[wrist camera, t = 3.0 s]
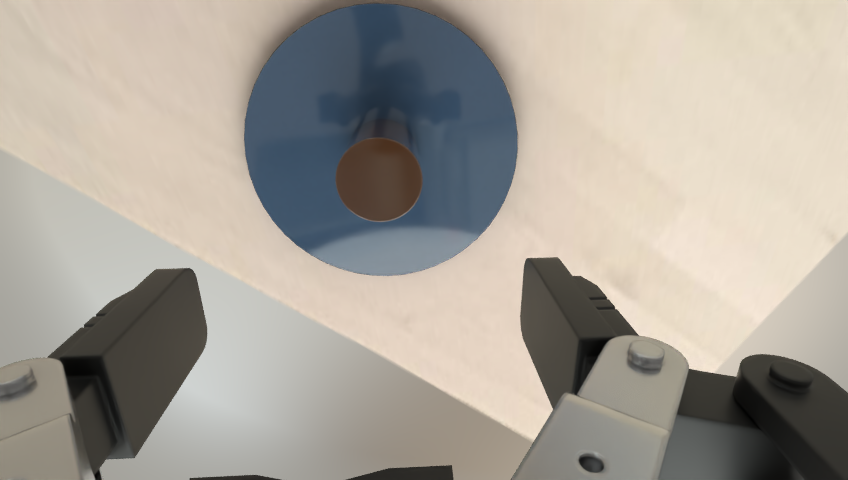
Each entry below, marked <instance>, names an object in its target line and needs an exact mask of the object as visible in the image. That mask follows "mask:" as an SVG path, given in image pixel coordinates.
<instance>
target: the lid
mask: <svg viewBox="0 0 848 480" xmlns="http://www.w3.org/2000/svg"><path fill="white" fill-rule="evenodd" d="M244 143H245V154H246V160H247V165H248V170H249V174H250V177H251V180H252V183H253V185H254V188H255V191H256V193H257V195H258V197H259V199H260V201H261V203H262V205H263V207H264V208H265V210H266V211H267V213H268V214H269V215H270V217H271V218H272V220H273V221H274V222H275V224H276V225H277V226H278V227H279V228H280V229H281V230H282V232H283V233H284V234H285V235H286V236H287V237H288V238H290V239H291V240H292V241H293V242H294V243H295V244H296V245H297V246H299V247H300V248H302V249H303V250H305V251H306V252H307V253H309V254H310V255H312V256H314V257H316V258H317V259H319V260H321V261H323V262H325V263H327V264H330V265H332V266H335V267H337V268H340V269H343V270H347V271H351V272H354V273H360V274H366V275H377V276H392V275H403V274H408V273H413V272H418V271H422V270H425V269H428V268H430V267H433V266H436V265H438V264H440V263H442V262H444V261H446V260H449V259H450V258H452V257H454V256H455V255H457V254H458V253H460V252H461V251H463V250H464V249H465V248H467V247H468V246H469V245H470V244H471V243H473V242H474V241H475V240H476V239H477V238H478V237H479V236H480V235H481V234H482V233H483V232H484V231H485V230H486V229H487V227H488V226H489V225H490V223H491V222H492V221H493V219H494V218H495V216H496V215H497V213H498V212H499V210H500V208H501V206H502V204H503V203H504V201H505V198H506V196H507V194H508V191H509V189H510V186H511V183H512V179H513V175H514V171H515V167H516V159H517V151H518V149H517V126H516V119H515V113H514V110H513V106H512V102H511V99H510V96H509V94H508V91H507V89H506V87H505V84H504V82H503V80H502V78H501V76H500V75H499V73H498V71H497V70H496V68H495V66H494V65H493V63H492V62H491V61H490V59H489V58H488V57H487V56H486V54H485V53H484V52H483V51H482V49H481V48H480V47H479V46H478V45H477V44H475V43H474V42H473V41H472V40H471V39H470V38H469V37H468V36H467V35H466V34H464V33H463V32H462V31H460V30H459V29H457V28H456V27H455V26H453V25H452V24H450V23H448V22H446V21H444V20H443V19H441V18H439V17H437V16H435V15H433V14H430V13H427V12H424V11H422V10H419V9H416V8H412V7H407V6H402V5H397V4H384V3H371V4H358V5H353V6H349V7H344V8H340V9H336V10H334V11H331V12H329V13H326V14H324V15H321V16H319V17H317V18H315V19H314V20H312V21H310V22H308V23H307V24H305V25H303V26H302V27H300V28H299V29H298V30H297V31H295V32H294V33H293V34H292V35H290V36H289V37H288V38H287V39H286V40H285V41H284V42H283V43H282V44H281V45H280V46H279V47H278V48H277V49H276V50H275V51H274V53H273V54H272V55H271V57H270V58H269V60H268V61H267V63H266V64H265V65H264V67H263V69H262V71H261V73H260V75H259V77H258V78H257V80H256V82H255V84H254V87H253V90H252V93H251V96H250V99H249V102H248V107H247V113H246V118H245V132H244Z"/></svg>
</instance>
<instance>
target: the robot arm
mask: <svg viewBox="0 0 848 480" xmlns="http://www.w3.org/2000/svg"><path fill="white" fill-rule="evenodd" d="M520 320H521V331H522V336H523V339H524V342H525V344H526V347H527V349H528V351H529V354H530V356H531V358H532V361H533V363H534V365H535V368H536V370H537V372H538V375H539V377H540V379H541V382H542V384H543V387H544V389H545V391H546V394H547V396H548V398H549V401H550V403H551V405H552V408H553V411H552V413H551V415H550V416H549V418H548V419H547V421H546V423H545V424H544V426H543V428H542V429H541V431H540V433H539V434H538V436H537V437H536V439H535V441H534V442H533V444H532V446H531V447H530V449H529V451H528V452H527V454H526V456H525V457H524V459H523V461H522V462H521V464H520V465H519V467H518V469H517V470H516V472H515V473H514V475H513V477H512V478H511V480H848V393H847V392H846V391H845V390H844V389H842V388H841V387H840V386H839V385H838V384H836V383H835V382H834V381H833V380H831V379H830V378H829V377H828V376H826V375H825V374H823V373H821V372H820V371H818V370H817V369H815V368H813V367H811V366H808V365H806V364H804V363H801V362H798V361H796V360H793V359H789V358H785V357H781V356H775V355H765V354H760V355H752V356H749V357H746V358H745V359H743V360H742V361H741V363H740V367H739V370H738V373H737V377H734V376H727V375H721V374H715V373H708V372H702V371H697V370H692V369H689V365H688V362H687V360H686V358H685V357H684V356H683V355H682V354H681V353H680V352H679V351H678V350H676V349H675V348H673V347H672V346H670V345H668V344H666V343H664V342H661V341H659V340H656V339H653V338H649V337H644V336H639V335H638V334H637V333H636V332H635V330H634V329H633V328H632V327H631V326H630V324H629V323H628V322H627V321H626V320H625V318H624V317H623V316H622V315H621V314H620V312H619V311H618V310H617V309H615V306H614V305H613V304H612V303H611V302H610V300H607V297H606V296H605V294H604V293H603V292H602V291H601V290H600V288H599V287H598V286H597V285H595V284H593V283H592V282H590V281H588V280H587V279H585V278H583V277H581V276H572V275H571V274H570V272H569V271H568V270H567V268H566V267H565V266H564V264H563V263H562V262H561V260H560V259H559V258H557V257H554V258H527V259H526V261H525V265H524V274H523V287H522V301H521V315H520ZM206 341H207V325H206V320H205V315H204V310H203V306H202V301H201V296H200V291H199V287H198V282H197V278H196V275H195V273H194V271H193V270H192V269H190V268H180V269H156V270H154V271H153V272H152V273H151V274H150V275H149V276H148V277H146V279H144V280H143V281H142V282H141V283H140V284H139V285H138V286H137V287H135V288H134V289H133V290H131V291H129V292H128V293H126V294H124V295H122V296H120V297H118V298H116V299H114V300H112V301H111V302H109V303H108V304H107V305H106V306H105V307H104V308H103V309H102V310H100V311H99V312H98V313H97V314H96V317H92V318H91V319H90V320H89V321H88V322H87V323H86V324H85V325H84V328H80V329H79V330H78V331H77V332H76V333H74V334H73V335H72V336H71V337H70V338H69V339H67V340H66V341H65V342H64V343H63V344H62V345H61V346H60V347H59V348H57V349H56V350H55V351H54V352H53V353H52V354H51V355H49V356H48V357H47V358H33V359H27V360H23V361H19V362H15V363H12V364H9V365H6V366H3V367H1V368H0V480H104V479H103V476H102V473H101V470H100V467H101V465H102V464H103V463H104V461H105V460H106V459H123V458H135V456H136V455H137V453H138V452H139V450H140V449H141V447H142V446H143V444H144V442H145V441H146V439H147V438H148V436H149V435H150V433H151V432H152V430H153V428H154V427H155V425H156V424H157V422H158V421H159V419H160V417H161V416H162V414H163V413H164V411H165V410H166V408H167V407H168V405H169V403H170V402H171V401H172V399H173V397H174V396H175V394H176V393H177V391H178V390H179V388H180V387H181V385H182V383H183V382H184V380H185V379H186V377H187V375H188V374H189V372H190V371H191V369H192V368H193V366H194V365H195V363H196V362H197V360H198V359H199V357H200V355H201V354H202V352H203V350H204V348H205V345H206ZM190 480H280V479H274V478H269V477H264V476H258V475H244V476H224V477H203V478H190ZM347 480H453V472H452V465H450V466H430V467H409V468H388V469H385V470H381V471H377V472H373V473H370V474H366V475H362V476H358V477H355V478H351V479H347Z"/></svg>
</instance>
